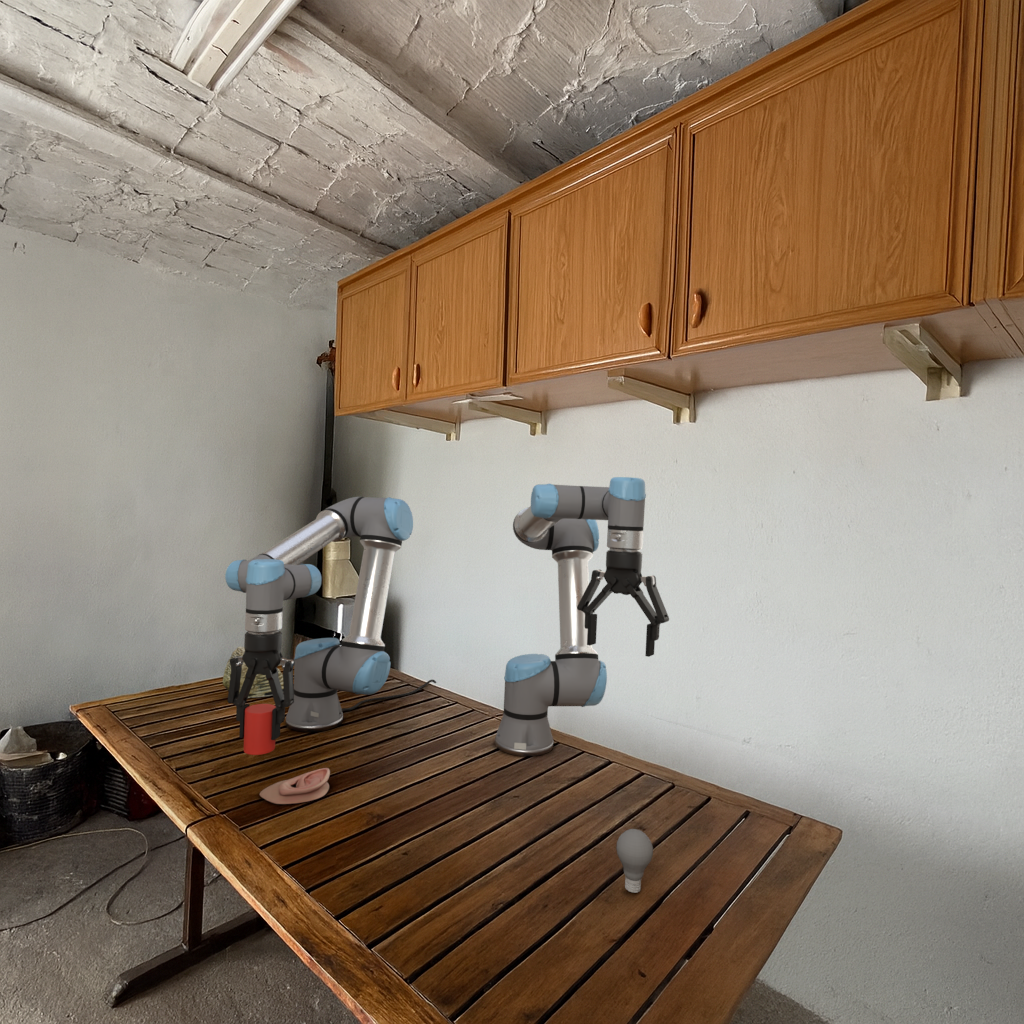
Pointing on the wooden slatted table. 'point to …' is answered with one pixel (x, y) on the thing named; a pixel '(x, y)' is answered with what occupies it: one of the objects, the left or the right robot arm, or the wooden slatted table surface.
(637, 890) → the light bulb
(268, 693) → the fossil
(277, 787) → the anatomical model
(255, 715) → the cylinder
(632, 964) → the wooden slatted table surface
